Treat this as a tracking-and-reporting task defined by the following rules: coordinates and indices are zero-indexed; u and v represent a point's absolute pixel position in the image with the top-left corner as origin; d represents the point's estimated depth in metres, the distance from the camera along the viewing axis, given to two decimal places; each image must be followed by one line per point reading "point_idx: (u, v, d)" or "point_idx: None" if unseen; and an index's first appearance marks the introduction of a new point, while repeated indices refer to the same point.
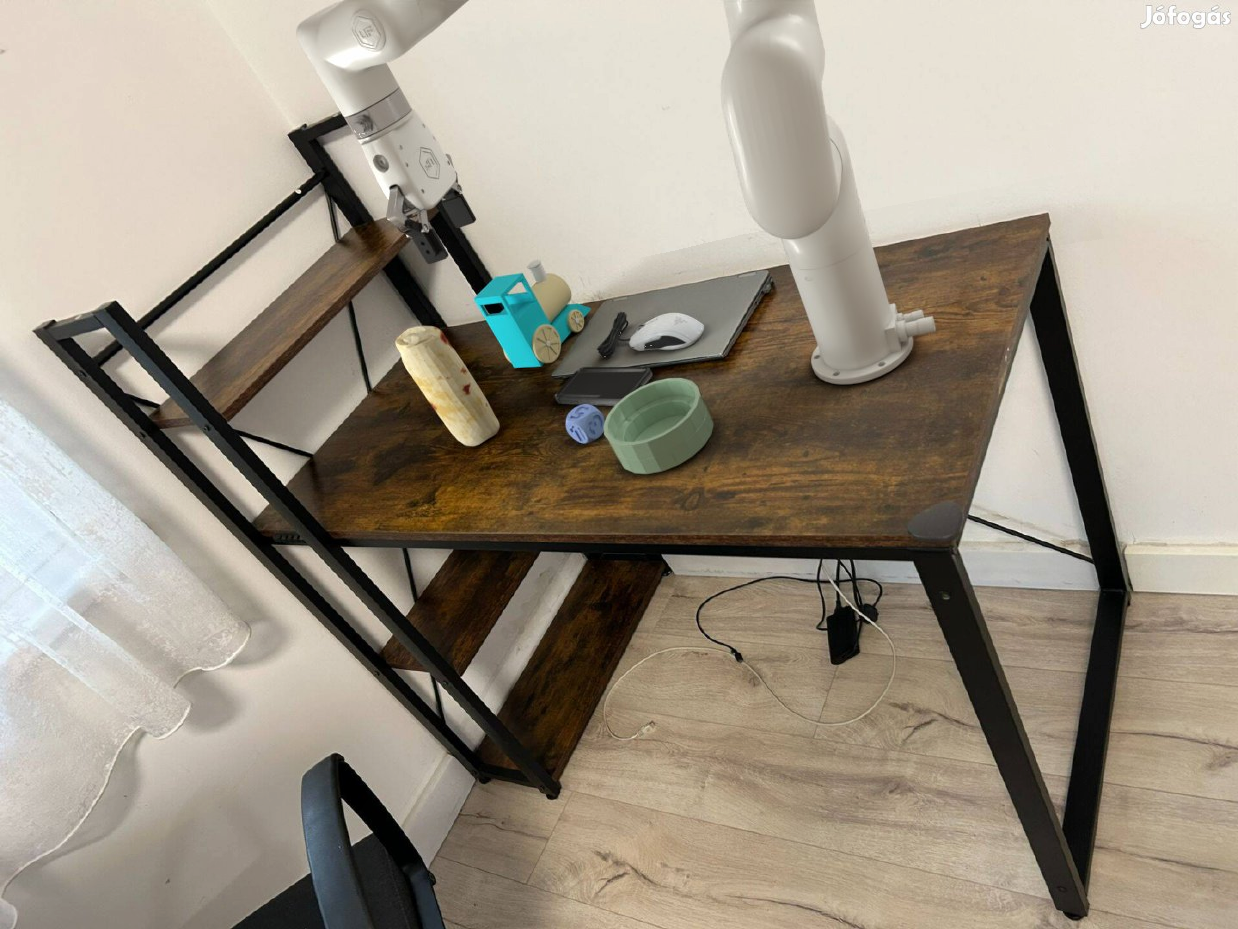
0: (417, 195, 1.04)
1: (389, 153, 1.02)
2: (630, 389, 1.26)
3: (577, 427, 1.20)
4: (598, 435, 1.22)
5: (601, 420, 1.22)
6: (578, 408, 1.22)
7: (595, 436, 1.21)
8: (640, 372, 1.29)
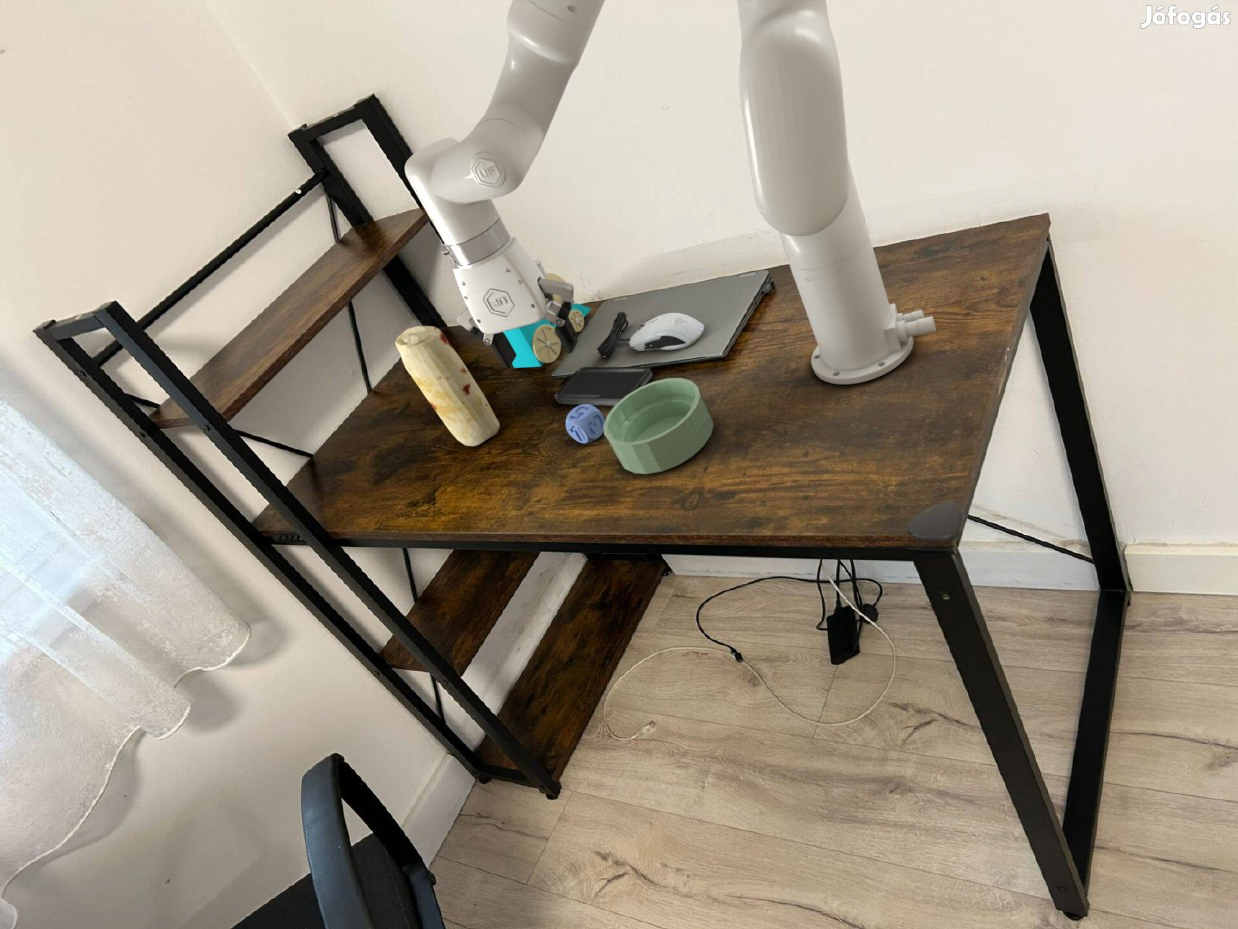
0: (475, 320, 1.12)
1: None
2: (630, 389, 1.26)
3: (577, 427, 1.20)
4: (598, 435, 1.22)
5: (601, 420, 1.22)
6: (578, 408, 1.22)
7: (595, 436, 1.21)
8: (640, 372, 1.29)
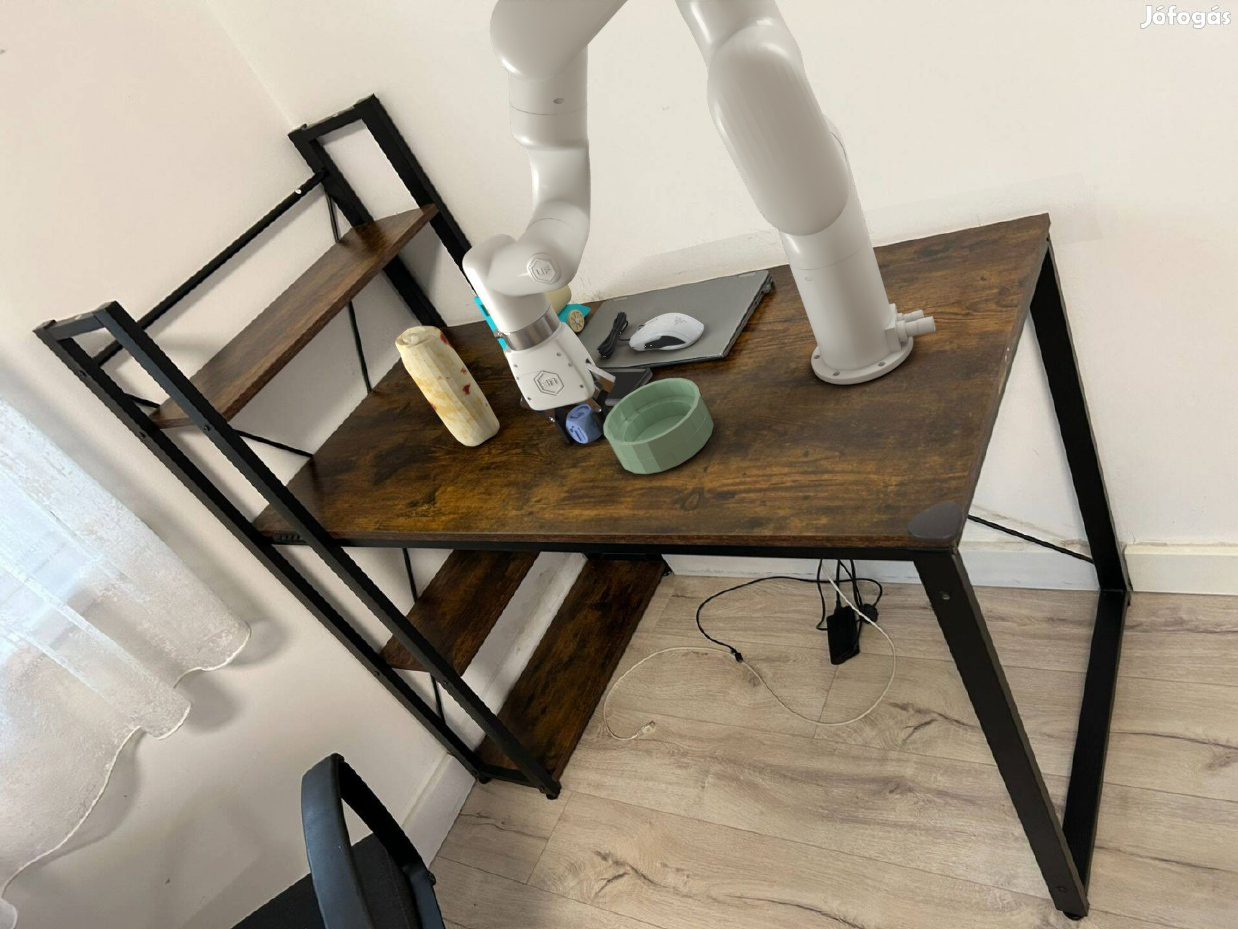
0: (525, 398, 1.19)
1: None
2: (630, 389, 1.26)
3: (577, 427, 1.20)
4: (598, 435, 1.22)
5: None
6: (578, 408, 1.22)
7: (595, 436, 1.21)
8: (640, 372, 1.29)
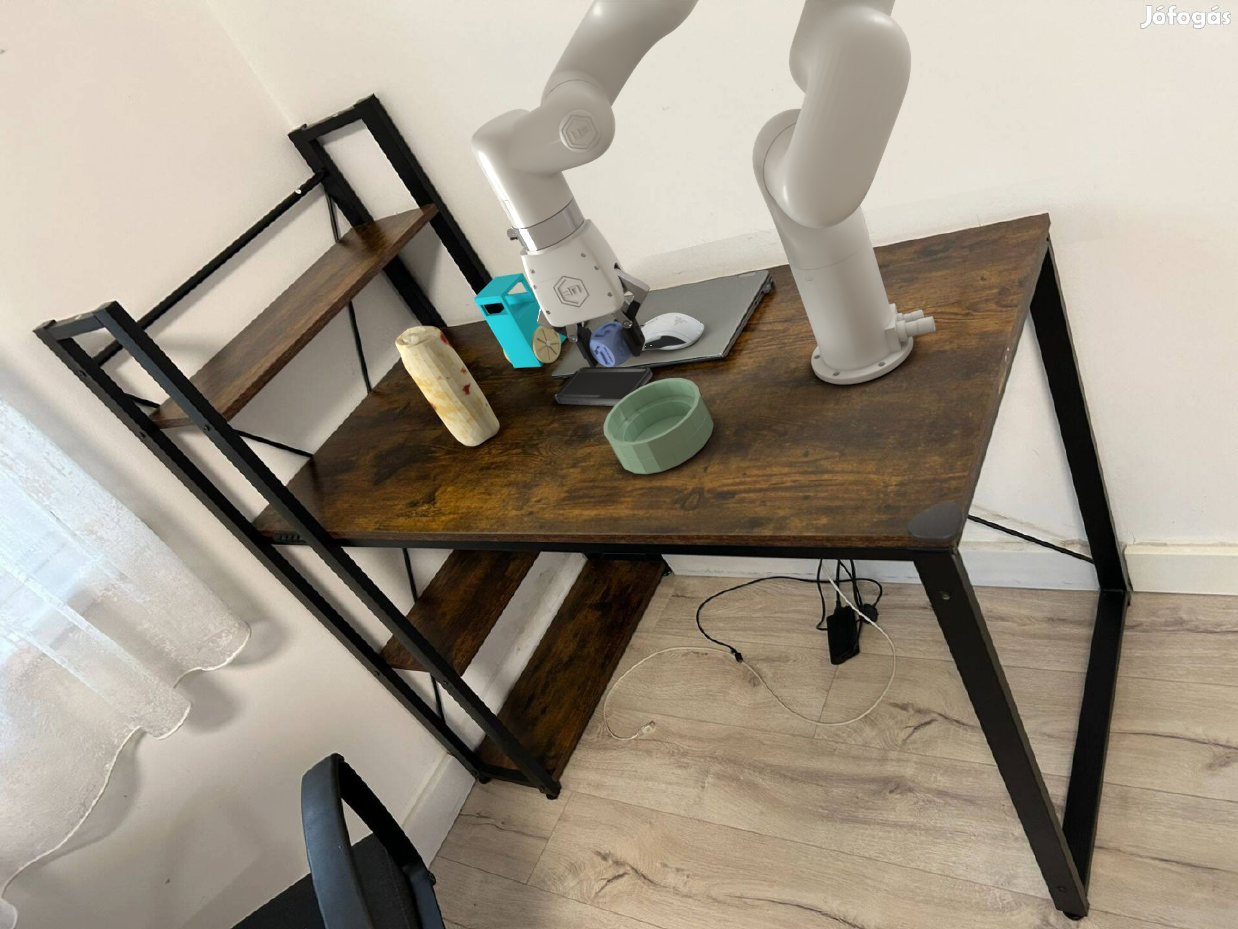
0: (543, 312, 1.03)
1: None
2: (630, 389, 1.26)
3: (603, 347, 1.04)
4: (627, 357, 1.05)
5: None
6: (604, 326, 1.06)
7: (624, 358, 1.05)
8: (640, 372, 1.29)
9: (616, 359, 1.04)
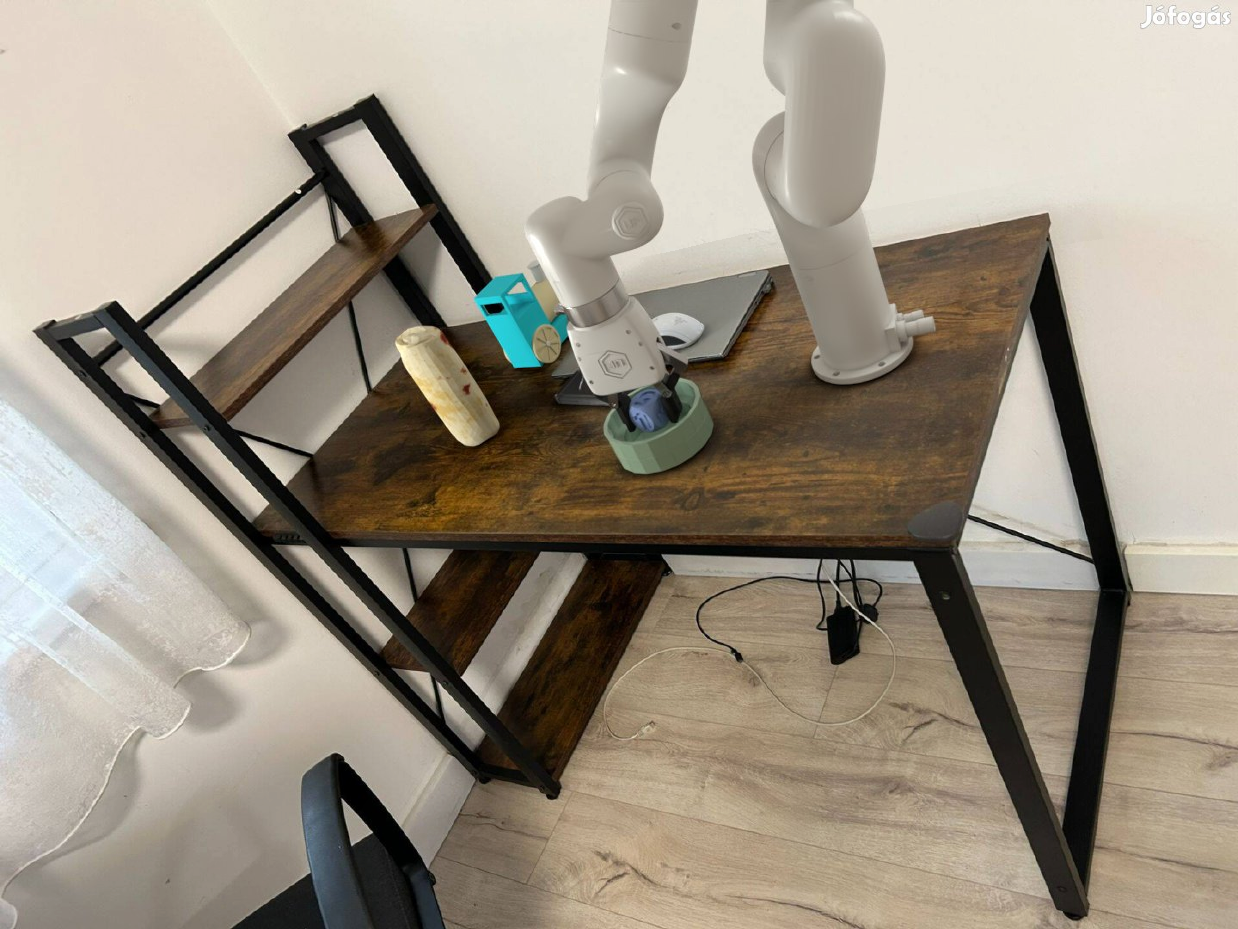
0: (586, 381, 1.07)
1: None
2: None
3: (643, 414, 1.09)
4: (665, 423, 1.10)
5: None
6: (643, 393, 1.11)
7: (662, 424, 1.10)
8: None
9: (655, 426, 1.09)
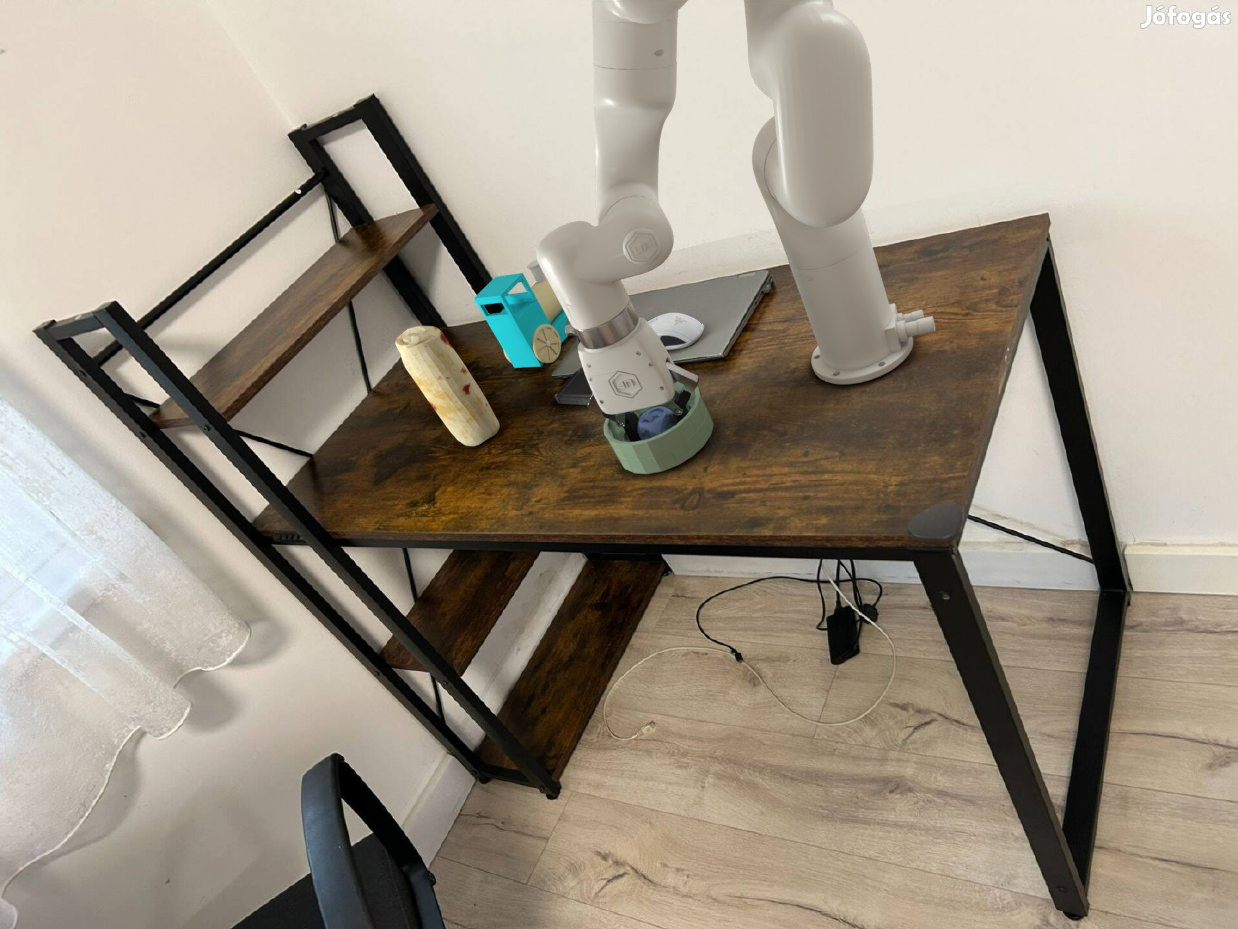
0: (597, 401, 1.09)
1: (581, 362, 1.06)
2: None
3: (651, 432, 1.10)
4: None
5: None
6: (651, 411, 1.13)
7: None
8: None
9: None
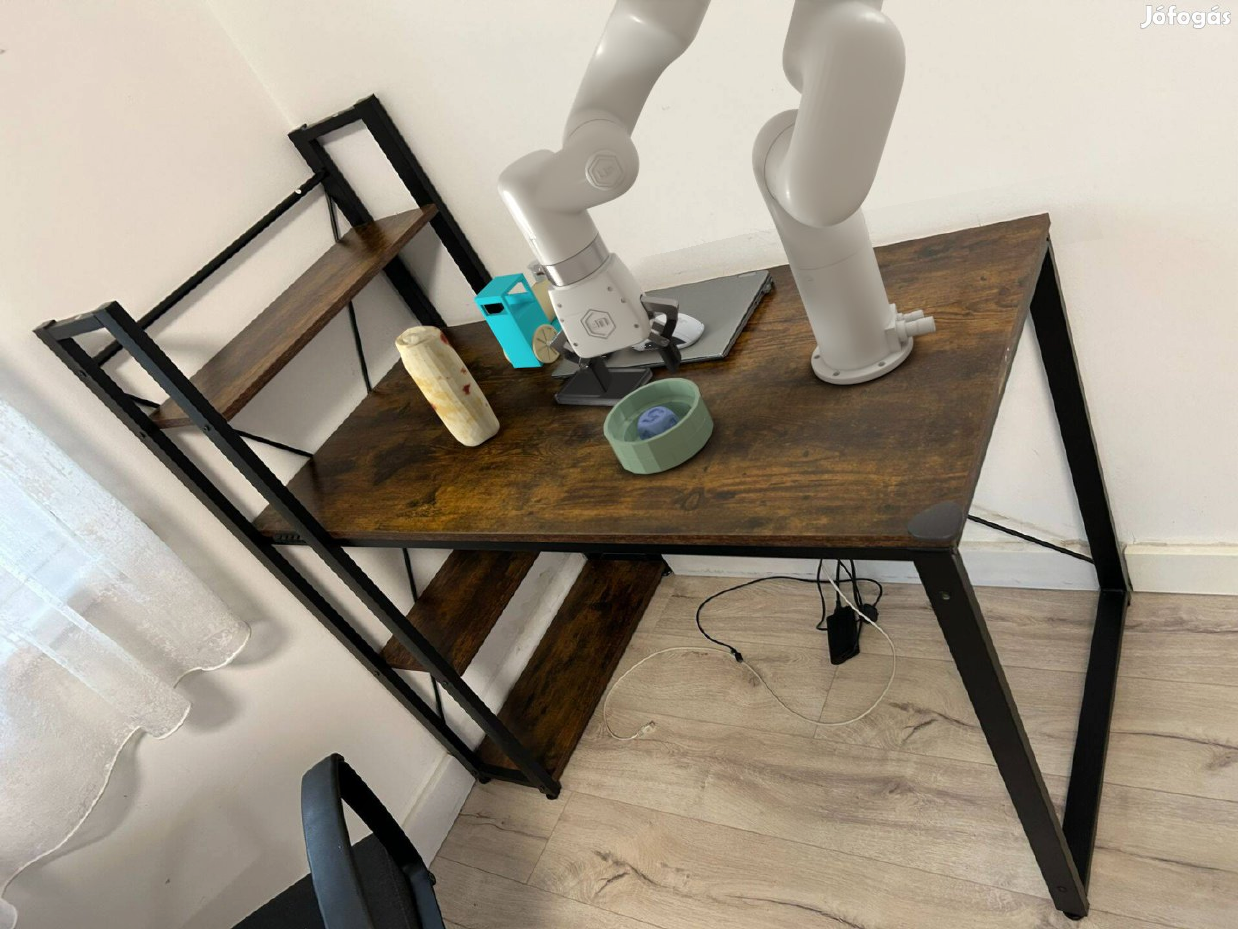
0: None
1: None
2: (630, 389, 1.26)
3: (651, 432, 1.10)
4: None
5: None
6: (651, 411, 1.13)
7: None
8: (640, 372, 1.29)
9: None
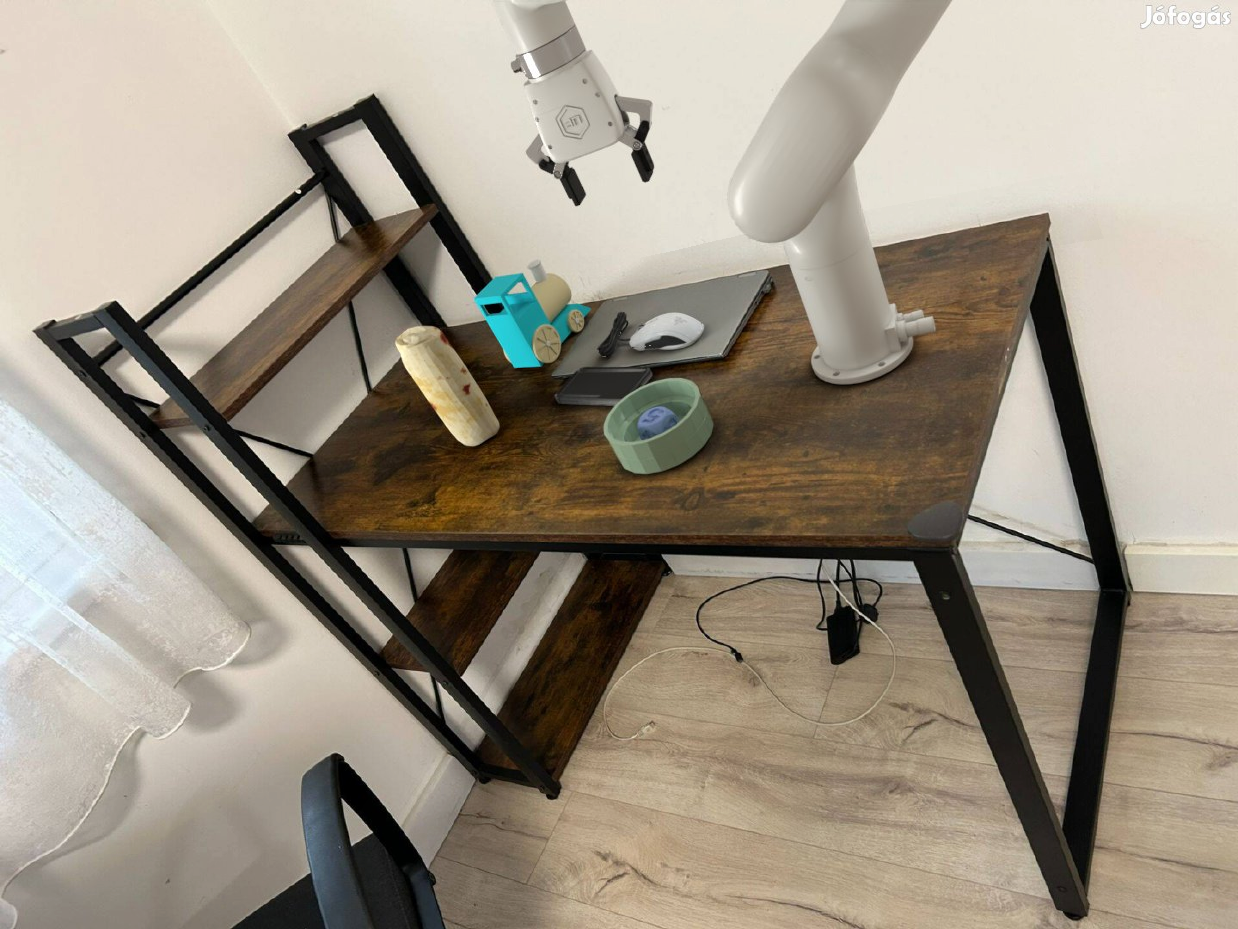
0: (545, 147, 1.06)
1: None
2: (630, 389, 1.26)
3: (651, 432, 1.10)
4: None
5: None
6: (651, 411, 1.13)
7: None
8: (640, 372, 1.29)
9: None
